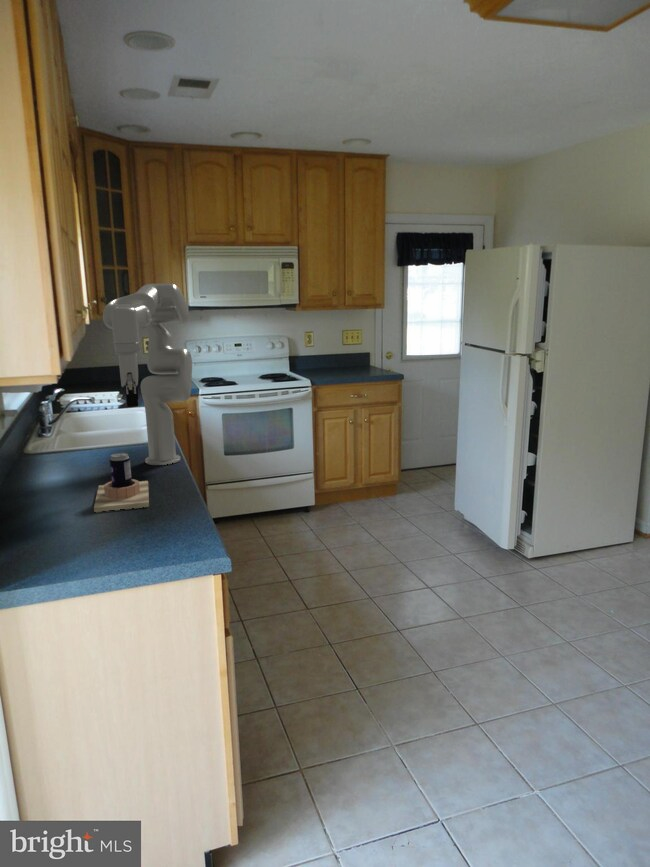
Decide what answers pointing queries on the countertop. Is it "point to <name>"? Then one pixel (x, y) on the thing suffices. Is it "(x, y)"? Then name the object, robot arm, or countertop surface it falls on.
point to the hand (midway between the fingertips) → (133, 403)
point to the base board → (122, 500)
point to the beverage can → (120, 470)
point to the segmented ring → (122, 490)
